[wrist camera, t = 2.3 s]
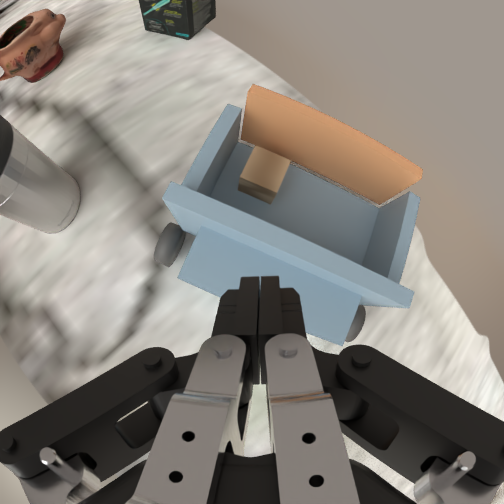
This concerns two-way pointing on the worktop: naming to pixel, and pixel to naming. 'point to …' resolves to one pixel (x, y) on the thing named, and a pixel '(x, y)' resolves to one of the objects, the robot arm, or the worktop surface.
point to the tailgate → (325, 145)
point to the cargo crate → (263, 174)
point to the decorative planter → (32, 46)
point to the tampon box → (177, 16)
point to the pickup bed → (288, 237)
